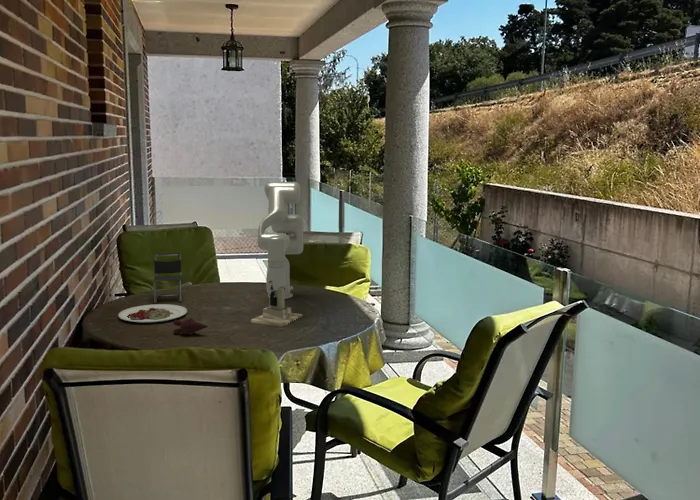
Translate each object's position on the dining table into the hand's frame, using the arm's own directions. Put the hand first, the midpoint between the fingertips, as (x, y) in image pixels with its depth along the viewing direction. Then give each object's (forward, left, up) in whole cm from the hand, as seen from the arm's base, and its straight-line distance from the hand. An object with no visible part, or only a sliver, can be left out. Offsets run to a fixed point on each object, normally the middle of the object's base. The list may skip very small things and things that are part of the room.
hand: (277, 303), depth 292 cm
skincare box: (0, 0, -5) cm, 5 cm away
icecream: (+35, -20, -8) cm, 41 cm away
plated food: (+19, -54, -8) cm, 58 cm away
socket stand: (0, 0, -7) cm, 7 cm away
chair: (-8, -68, -8) cm, 69 cm away
